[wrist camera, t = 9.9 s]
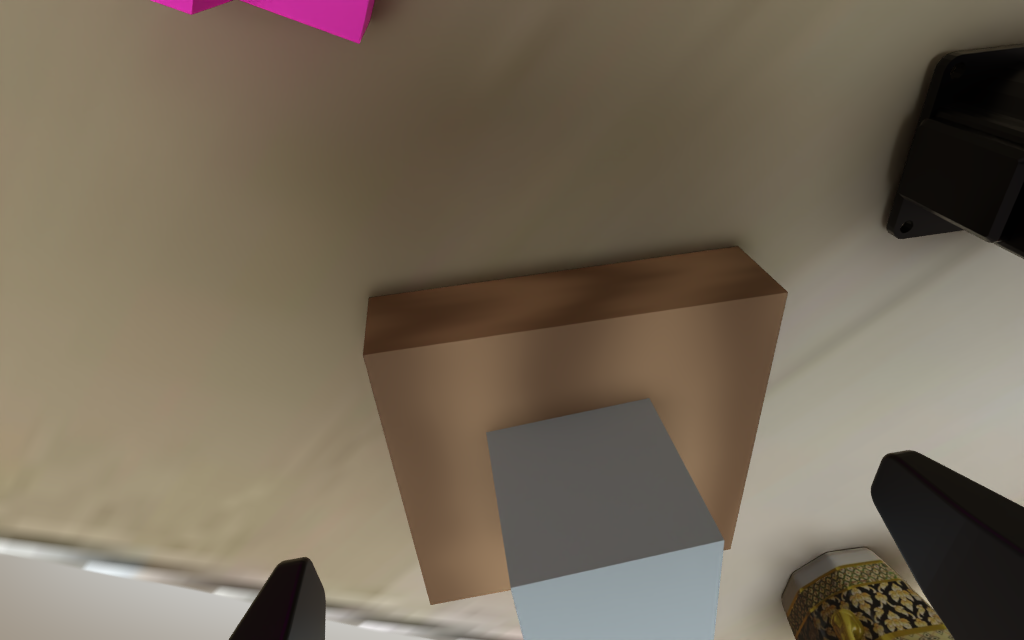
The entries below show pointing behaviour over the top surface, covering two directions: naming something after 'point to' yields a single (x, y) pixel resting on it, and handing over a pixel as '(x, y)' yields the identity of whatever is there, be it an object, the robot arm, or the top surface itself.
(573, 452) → the slate cube
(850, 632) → the ceramic cup
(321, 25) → the toy block
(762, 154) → the top surface
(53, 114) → the top surface
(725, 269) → the walnut slab
